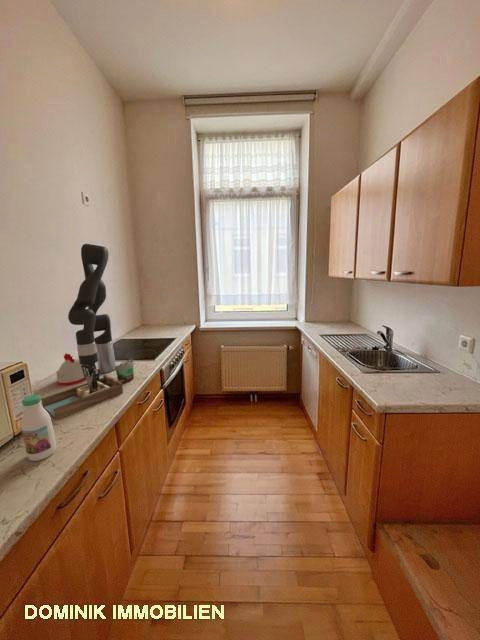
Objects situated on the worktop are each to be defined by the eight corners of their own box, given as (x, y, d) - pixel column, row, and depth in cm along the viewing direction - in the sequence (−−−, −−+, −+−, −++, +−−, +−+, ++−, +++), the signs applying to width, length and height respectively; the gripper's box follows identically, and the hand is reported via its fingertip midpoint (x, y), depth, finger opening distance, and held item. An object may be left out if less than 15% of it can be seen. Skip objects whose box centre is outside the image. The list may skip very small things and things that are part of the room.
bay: (43, 408, 116) (40, 396, 115) (106, 384, 138) (105, 374, 137) (56, 420, 107) (54, 407, 106) (123, 392, 128) (121, 382, 127)
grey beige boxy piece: (77, 394, 125) (74, 376, 123) (99, 386, 133) (96, 369, 131) (88, 401, 118) (85, 383, 116) (110, 393, 125) (108, 375, 124)
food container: (127, 385, 137) (125, 366, 135) (116, 384, 138) (114, 366, 136) (140, 375, 148) (138, 358, 146) (130, 374, 150) (128, 357, 148)
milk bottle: (38, 446, 91) (26, 392, 87) (61, 444, 92) (51, 391, 87) (22, 463, 83) (8, 404, 79) (48, 460, 84) (36, 403, 80)
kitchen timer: (77, 373, 154) (73, 348, 151) (92, 377, 148) (88, 351, 145) (52, 383, 142) (47, 356, 139) (67, 387, 136) (62, 359, 133)
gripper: (72, 351, 122) (78, 386, 126) (85, 357, 114) (91, 394, 117) (89, 347, 128) (94, 380, 132) (103, 352, 120) (108, 388, 123)
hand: (93, 387), depth 125 cm, fingers closed on grey beige boxy piece, 3 cm apart
